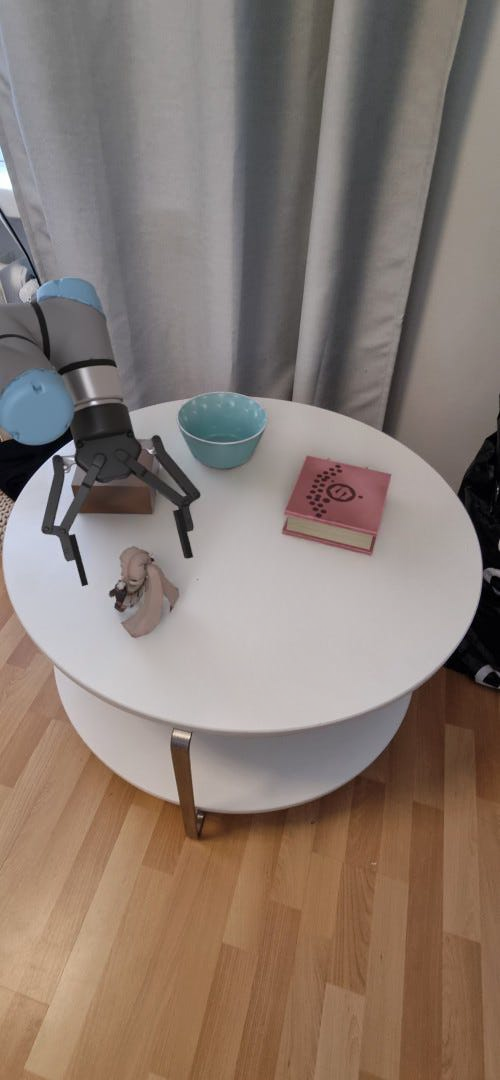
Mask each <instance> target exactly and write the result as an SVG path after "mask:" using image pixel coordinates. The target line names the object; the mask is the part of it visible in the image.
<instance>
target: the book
mask: <svg viewBox="0 0 500 1080" xmlns="http://www.w3.org/2000/svg"><path fill="white" fill-rule="evenodd" d="M391 479H392V473H389V472H383V471H380V470H376V469H371V468H369V467H368V466H365V467H362V466H356V465H353V464H347V463H344V462H339V461H334V460H331V459H330V458H329V457H327V458H321V457H316V456H312V455H308V454H307V455H306V456H305V458H304V461H303V463H302V466H301V468H300V471H299V474H298V475H297V478H296V480H295V483H294V486H293V488H292V490H291V493H290V495H289V498H288V501H287V503H286V504H285V505H286V506H285V508H284V511H283V515H285V516H287V517H286V520H285V521H284V522H285V523H284V525H283V527H282V530H281V534H282V535H285V536H289V537H293V538H297V539H302V540H306V541H309V542H313V543H316V544H317V543H318V544H322V545H325V546H329V547H334V548H337V549H341V550H345V551H350V552H352V553H353V552H354V553H358V554H362V555H365V556H369V557H372V556H373V552H374V548H375V544H376V541H377V538H378V535H379V530H380V526H381V522H382V517H383V514H384V508H385V504H386V500H387V496H388V491H389V487H390V483H391Z"/></svg>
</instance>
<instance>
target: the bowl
mask: <svg viewBox="0 0 500 1080" xmlns="http://www.w3.org/2000/svg"><path fill="white" fill-rule="evenodd" d="M175 418H176V424H177V426H178V428H179V430H180V433H181V434H182V437H183V439H184V441H185V443H186V445H187V447H188V448H189V451H190V453H191V454H192V457H194V459H195V460H196V461H198V462H199V463H201V464H202V465H204V466H207V467H209V468H211V469H218V470H227V469H232V468H236V467H239V466H241V465H243V464H245V463H246V462H248V461H249V460H250V459H251V458H252V456H254V453H255V451H256V449H257V447H258V445H259V443H260V441H261V439H262V437H263V436H264V434H265V433H264V432H265V431H266V428H267V426H268V424H269V423H268V422H269V414H268V412H267V409H266V408H265V407H264V406H263V405H262V404H261V403H260V402H259V401H258V400H256V399H254V398H252V397H250V396H248V395H245V394H241V393H237V392H233V391H232V392H231V391H211V392H205V393H202V394H199V395H196V396H193V397H190V398H189V399H188V400H186V401H185V402H183V403H182V404H181V405H180V407H178V410H177V411H176V415H175Z"/></svg>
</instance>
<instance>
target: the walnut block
mask: <svg viewBox="0 0 500 1080" xmlns="http://www.w3.org/2000/svg"><path fill="white" fill-rule="evenodd" d="M136 439H137V440H138V441H139V442H141V441H144V440H147V439H148V438H136ZM137 462H139V463H140V464H141V465H143V466H144V467H145V468H147V470H149V471H150V472H151V473H153V474H154V475H155V476H157V477H158V478H159V472H160V463H159V462H158V460H157V459H156V457H155V456H154V455H149V454H148V453H147V451H145V450H142V451H141V454H140V456H139V458H138V461H137ZM86 474H87V473H85V472H84V471H83V470H82V469H81V468H80V467H78V466H77V465H76V468H75V470H74V473H73V478H72V481H71V484H70V487H71V491H72V495H73V498H74V497H75V495H76V493H77V492H78V490H79V488H80V486H81V484H82V482H83V480H84V478H85V476H86ZM156 493H157V491H156V490H154V489H153V488H152V487H150V486H149V485H148V484H146V483H145V482H143V481H142V480H141V479H139V478H137V477H136V476H134V475H133V474H131V475H130V476H129V477H128V478H127V479H122V480H113V481H111V482H109V483H104V484H103V483H99V482H97V481H95V482H94V484H93V486H92V488H91V490H90V491H89V493H88V495H87V497H86V499H85V501H84V503H83V505H82V507H81V509H80V511H79V513H78V514H95V515H96V514H97V515H98V514H101V515H102V514H104V515H110V514H111V515H153V514H154V507H155V500H156Z"/></svg>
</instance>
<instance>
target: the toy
mask: <svg viewBox="0 0 500 1080" xmlns="http://www.w3.org/2000/svg"><path fill="white" fill-rule="evenodd" d="M153 555H154V552H152V553H151V554H150V553H149V551H147V550H146V549H143V548H139V547H137V546H135V545H132V546H129V547H128V548H125V549H124V550H123V551H122V552H121V554H120V556H119V557H118V558H119V561H120V568H121V572H120V576H121V579H118V580H117V583H116V584H115V585H114V588H112V589H110V590H109V592H108V593H107V595H108V597H109V598H111V599H112V598H113V599H114V598H115V603H114V606H113V608H114V610H116V611H117V612H119V613H124V612H125V611H126V610H127V609H131V608H134V606H135V605H136V603H138V602H139V601H140V599H141V598H142V597H143V595H144V597H143V601H142V604H141V605H140V607H139V608H138V610H137V611H136V613H135V614H134V615H133V617H132V618H131V619H128V620H124V621H121V622H120V624H121V626H122V627H123V629H124V630H125V631H126V632H127V633H128V634H129V636H130V637H131V638H132V639H137V638H140V637H144V636H147V635H148V634H150V633H152V632H153V631H154V630H155V628H156V627H157V626H158V624H160V621H161V617H162V611H163V607H164V606H163V605H164V598H166V599H167V600H168V602H169V614H171V612H172V611H173V609H174V607H175V606H176V604H177V602H178V600H179V599H180V590H179V587H176V586H175V585H174V584H173V583H172V582H171V581H170V580H169V579H168V578H167V577H166V575H165V573H164V572H163V569H162V567H161V566H159V565H158V564H156V563H154V562H156V560H155V558H154V557H153ZM128 607H129V608H128Z"/></svg>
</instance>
